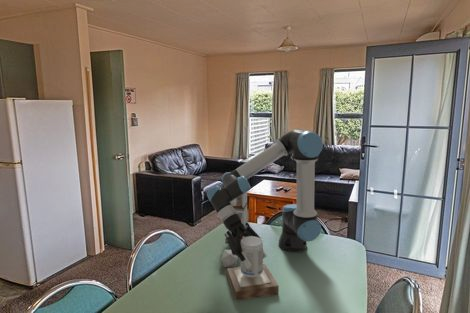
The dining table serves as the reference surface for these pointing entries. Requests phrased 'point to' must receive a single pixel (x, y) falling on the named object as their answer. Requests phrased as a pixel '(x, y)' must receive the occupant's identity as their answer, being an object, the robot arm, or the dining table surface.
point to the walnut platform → (252, 284)
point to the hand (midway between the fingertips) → (257, 262)
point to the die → (229, 259)
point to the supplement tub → (252, 256)
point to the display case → (240, 209)
